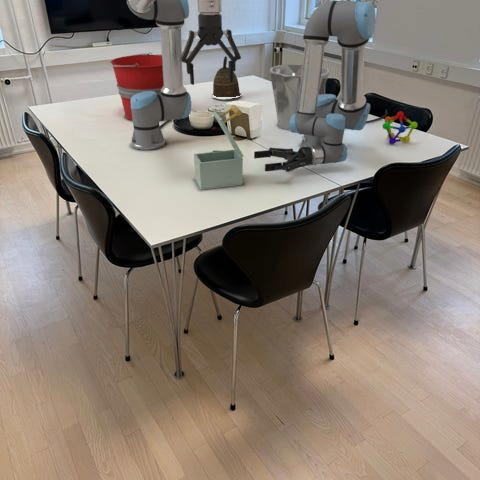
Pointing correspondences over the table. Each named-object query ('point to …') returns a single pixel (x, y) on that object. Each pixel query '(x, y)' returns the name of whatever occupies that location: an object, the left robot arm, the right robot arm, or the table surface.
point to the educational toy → (398, 128)
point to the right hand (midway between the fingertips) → (259, 161)
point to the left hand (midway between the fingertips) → (211, 82)
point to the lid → (225, 129)
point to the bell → (225, 83)
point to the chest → (218, 169)
